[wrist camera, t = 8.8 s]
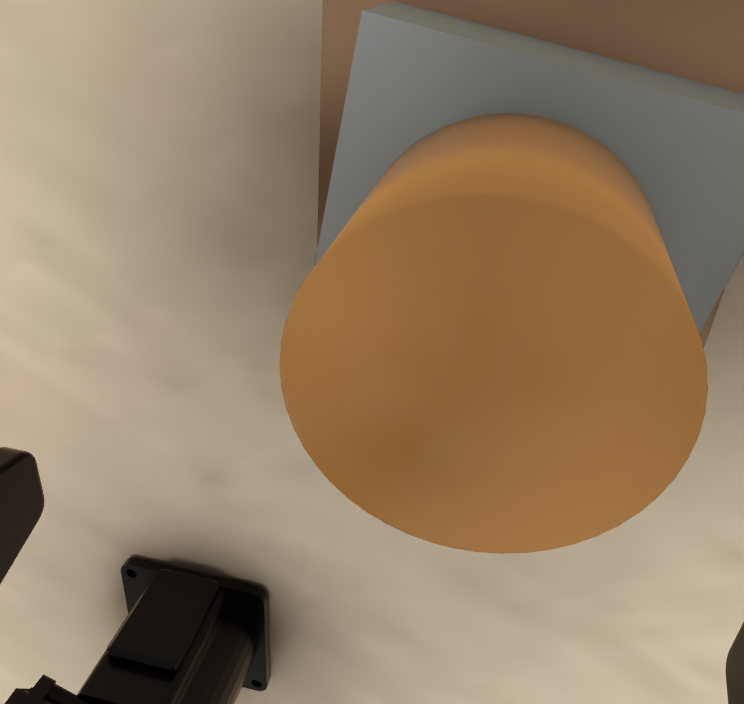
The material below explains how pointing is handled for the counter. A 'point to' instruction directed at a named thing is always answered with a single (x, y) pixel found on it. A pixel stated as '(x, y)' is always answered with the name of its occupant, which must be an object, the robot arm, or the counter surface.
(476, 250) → the orange cylinder
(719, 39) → the tower base
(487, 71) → the block
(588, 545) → the counter surface
